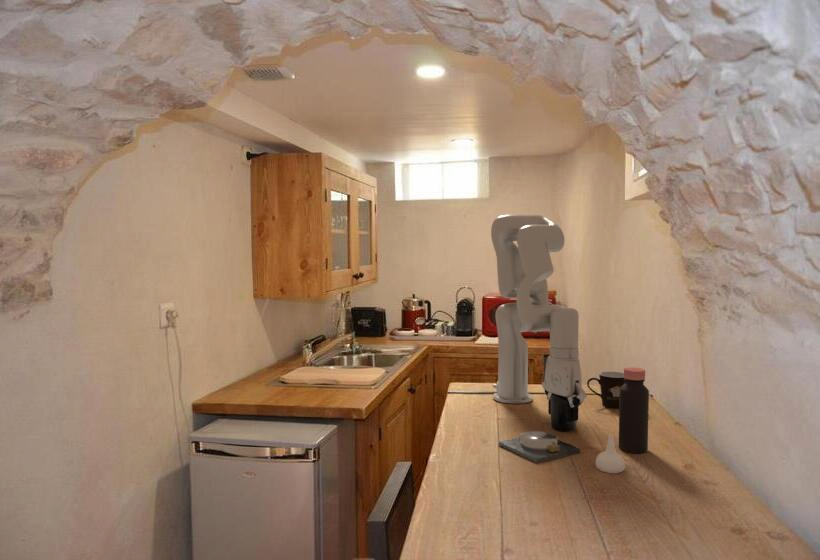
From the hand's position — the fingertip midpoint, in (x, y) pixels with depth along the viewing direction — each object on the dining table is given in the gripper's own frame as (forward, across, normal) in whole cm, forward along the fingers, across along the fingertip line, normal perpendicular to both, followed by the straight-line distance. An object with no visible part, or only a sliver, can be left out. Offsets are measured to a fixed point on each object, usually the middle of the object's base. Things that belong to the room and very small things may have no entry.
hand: (563, 416), depth 164 cm
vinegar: (+4, +21, +3) cm, 22 cm away
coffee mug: (+4, -10, +29) cm, 31 cm away
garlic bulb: (+4, +27, -12) cm, 30 cm away
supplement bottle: (+4, 0, 0) cm, 4 cm away
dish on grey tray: (+3, +9, -17) cm, 20 cm away
